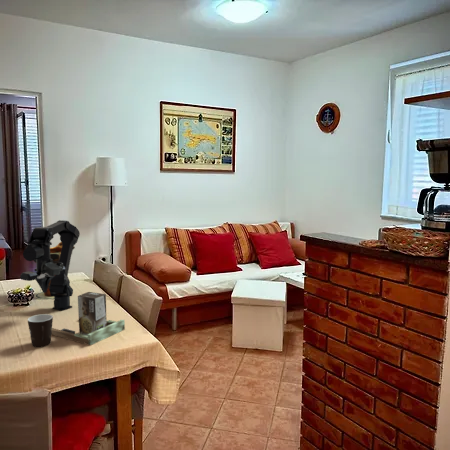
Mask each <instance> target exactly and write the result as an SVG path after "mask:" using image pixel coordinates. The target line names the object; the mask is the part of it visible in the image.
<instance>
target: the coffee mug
mask: <svg viewBox="0 0 450 450" xmlns="http://www.w3.org/2000/svg"><path fill="white" fill-rule="evenodd" d="M26 321H27V324H28V325H27V326H28V331H29V336H30V341H31V346H32V347H33V348H44V347H47V346H49V345H51V343H52V335H51V334H52V328H53V322H54V316H53V315H52V314H48V313H45V314H44V313H43V314H41V313H40V314H35V315H32V316H29V317H28V318H27V320H26Z"/></svg>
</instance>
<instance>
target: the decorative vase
mask: <svg viewBox="0 0 450 450" xmlns="http://www.w3.org/2000/svg"><path fill="white" fill-rule="evenodd" d="M61 249H62V243H61V241H60V242H58V244H57V245H56V246H53V247H50V258H51V259H53V263H54V264H56V263H59V259H60V254H61ZM74 249H76V248H75V245H74V246H73V249H72V252H73V250H74ZM72 255H73V253H72V254H71V256H72ZM32 262H34V260H33V261H32ZM34 263H35V264H36V262H34ZM40 274H41V273H40ZM54 276H55V275H54ZM50 282H51V280H50ZM49 286H50V283H49ZM49 286H48V289H47V292H45V293H44V292H43V291H42V289H41V288H40V290H39V291H40V292H37V293H35V294H34V295H33V296H34V298H35V299H37V300H53V299H54V296H51V294H50V290H49Z"/></svg>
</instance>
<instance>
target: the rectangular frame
mask: <svg viewBox="0 0 450 450" xmlns="http://www.w3.org/2000/svg"><path fill="white" fill-rule="evenodd" d="M125 330H126V326H125V319H120V320H118V321H116V320H111V319H108V320H107V326H106V327H103V328H101V329H99V330H96V331H94V332H92V333H89V334H88V336H86V335H82V334H79V332H77V333H76V331H75V330H72V329H68V328H62V329H58V328H53V327H52V334H51V336H56V337H59V338H62V339H66V340H70V341H74V342H76V343H81V344H84V345H87V346H92V345H95V344H97V343H99V342H101V341H103V340H105V339H108V338H109V337H112V336H114V335H117V334H118V333H120V332H122V331H125Z"/></svg>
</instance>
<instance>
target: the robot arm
mask: <svg viewBox="0 0 450 450" xmlns="http://www.w3.org/2000/svg"><path fill="white" fill-rule="evenodd" d="M57 234H58V235H59V240H60V242H61V243H62V249H61V254H60V259H59V263H56V264H54V263H53V259H51V258H50V248H51V246H52V244H53V243H52V241H51V240H53V238H54V236H55V235H57ZM80 235H81V234H80V230H79V229H78V228H77V226H75V225H73V224H72V223H71V222H70V221H69V220H64V219H63V220H60V219H59V220H57V221H55V222H54V223H51V224H49V225H47V226H37V227H34V228H33V230H32V231H31V234H30V237H29V240H28V243H27V246H26V248H24V250H23V252H22V257H23V258H24V260H25V261H28V262H34V263H35V262H36V263H35V265H36V266H35V268H34V271H30V270H29V271H23V272H21V274H20V279H19V280H22V281H27V282H29V281H30V282H32V281H34V280H35V281H36V283H37V284H38V285H39V288H40V289H41V292H44V293H45V292H47V289H48V286H49V283H50V286H49V290H50V294H51V296H54V300H53V307H52V310H56V311H64V310H65V311H66V310H68V309H72V308H73V305H71V297H72V296H73V293H74V289H73V288H72V287H71V285H70V284H71V282H70V279H69V277H68V274H69V269H70V265H71V259H72V255H73V251H72V249H73V246H74V247H75V245H76V244H77V243H78V242H79V241H78V240H79V238H80ZM73 250H74V249H73ZM71 254H72V255H71ZM33 260H34V261H33ZM40 273H41V274H40ZM54 275H55V276H54ZM50 280H51V282H50Z"/></svg>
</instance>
